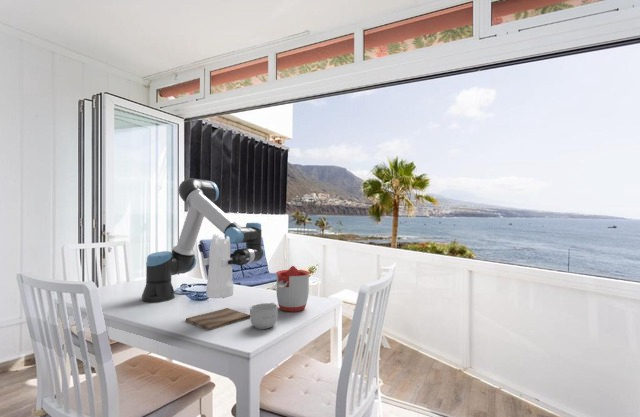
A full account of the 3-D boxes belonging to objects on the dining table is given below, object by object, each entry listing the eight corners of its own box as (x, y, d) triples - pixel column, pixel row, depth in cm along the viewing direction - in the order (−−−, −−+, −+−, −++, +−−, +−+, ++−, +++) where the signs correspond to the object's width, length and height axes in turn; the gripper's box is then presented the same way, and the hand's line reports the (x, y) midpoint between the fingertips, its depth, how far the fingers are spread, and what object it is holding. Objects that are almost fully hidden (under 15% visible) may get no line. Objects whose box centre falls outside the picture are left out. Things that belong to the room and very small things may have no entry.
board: (185, 321, 134) (185, 318, 134) (227, 310, 150) (227, 308, 150) (208, 330, 124) (208, 327, 124) (250, 317, 140) (250, 315, 140)
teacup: (264, 333, 122) (265, 311, 122) (243, 327, 128) (243, 306, 128) (287, 323, 134) (287, 303, 134) (267, 318, 140) (267, 299, 140)
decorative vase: (237, 295, 137) (239, 235, 137) (213, 299, 130) (215, 235, 130) (224, 290, 145) (226, 233, 145) (201, 294, 137) (202, 234, 138)
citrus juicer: (266, 311, 150) (266, 266, 151) (288, 302, 165) (289, 262, 166) (294, 316, 142) (295, 270, 143) (315, 307, 157) (315, 265, 158)
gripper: (263, 265, 151) (235, 273, 130) (224, 263, 158) (191, 270, 136) (263, 249, 151) (235, 254, 130) (224, 247, 158) (191, 252, 136)
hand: (213, 262), depth 133 cm, fingers closed on decorative vase, 8 cm apart
